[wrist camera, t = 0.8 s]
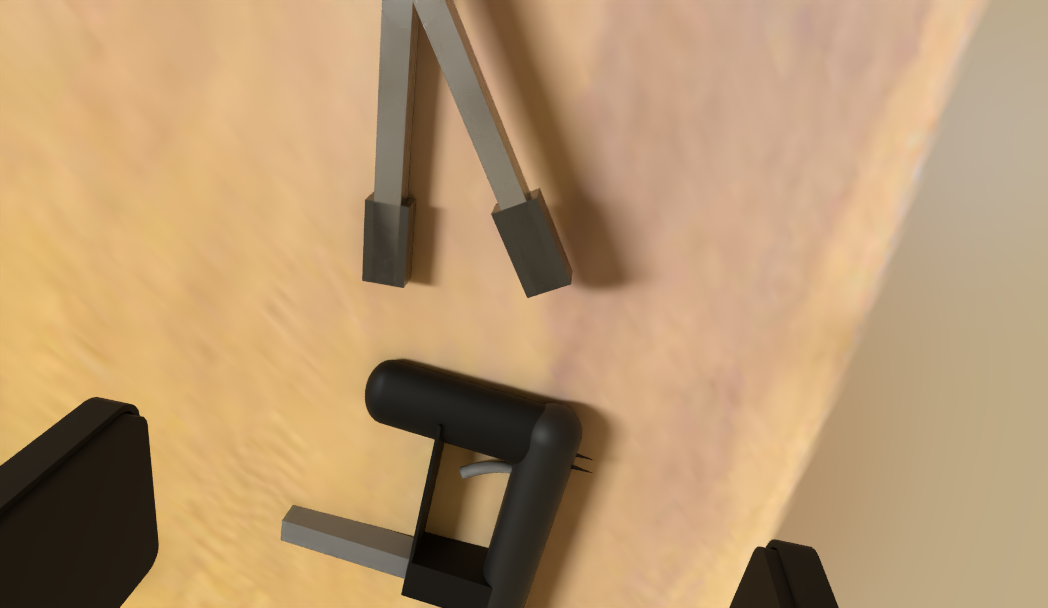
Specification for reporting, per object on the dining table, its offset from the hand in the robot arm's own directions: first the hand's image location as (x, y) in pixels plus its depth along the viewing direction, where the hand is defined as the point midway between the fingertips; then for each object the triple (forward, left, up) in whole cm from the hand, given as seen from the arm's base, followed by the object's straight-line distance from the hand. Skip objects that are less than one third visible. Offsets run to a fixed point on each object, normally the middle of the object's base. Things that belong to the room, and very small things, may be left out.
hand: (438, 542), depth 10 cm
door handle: (+21, -4, -22) cm, 31 cm away
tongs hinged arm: (-5, -4, -20) cm, 21 cm away
